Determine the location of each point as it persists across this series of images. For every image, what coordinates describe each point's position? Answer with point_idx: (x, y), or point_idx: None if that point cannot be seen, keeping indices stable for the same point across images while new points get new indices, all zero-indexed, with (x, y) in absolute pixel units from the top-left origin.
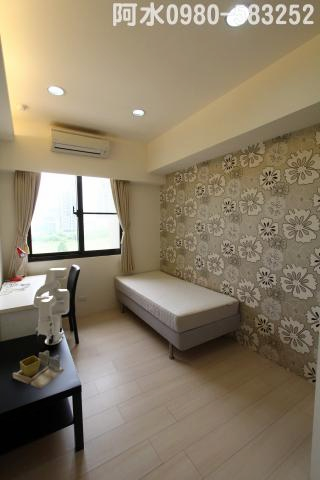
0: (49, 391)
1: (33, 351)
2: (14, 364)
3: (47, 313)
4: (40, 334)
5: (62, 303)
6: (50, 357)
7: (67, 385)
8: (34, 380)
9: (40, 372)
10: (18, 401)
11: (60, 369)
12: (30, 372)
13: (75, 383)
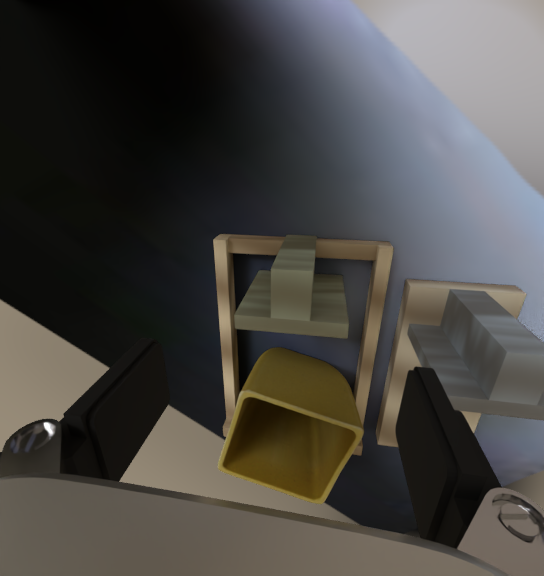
0: (528, 450)
1: (64, 162)
2: (118, 329)
3: None
4: (80, 474)
5: None
6: (457, 404)
7: None
8: (385, 430)
9: (370, 378)
10: (401, 507)
11: (509, 312)
12: (327, 425)
13: None
